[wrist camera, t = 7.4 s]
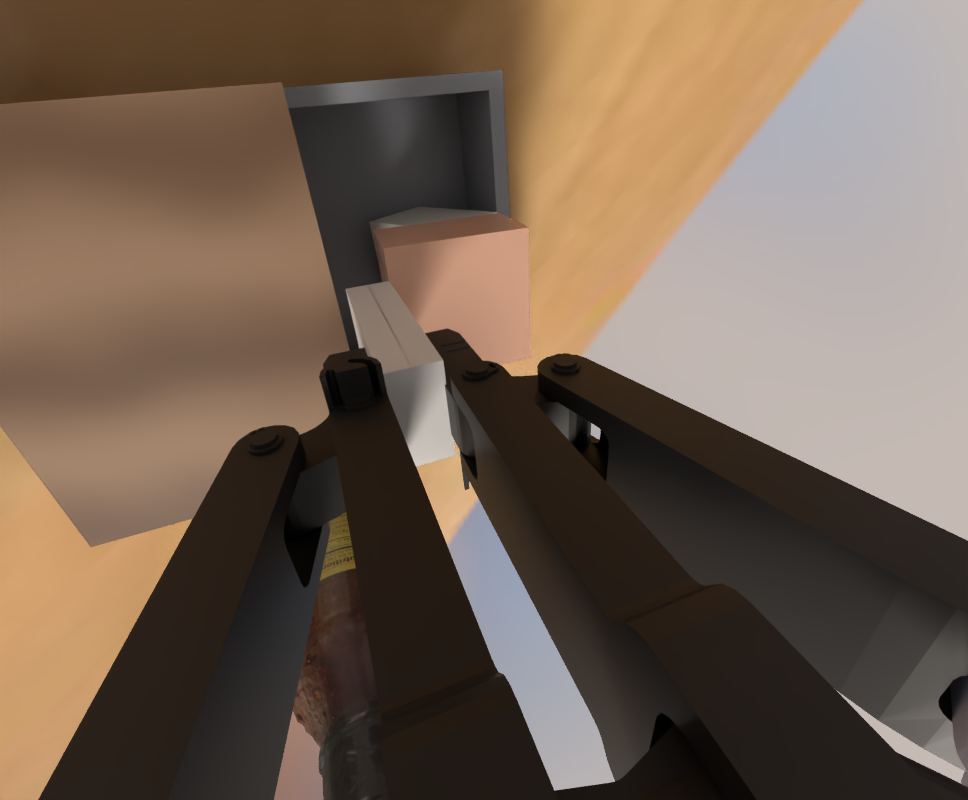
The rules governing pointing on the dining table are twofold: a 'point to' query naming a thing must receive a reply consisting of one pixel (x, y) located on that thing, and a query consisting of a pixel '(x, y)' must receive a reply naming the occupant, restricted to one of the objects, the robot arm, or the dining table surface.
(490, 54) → the dining table surface
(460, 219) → the salmon pink square block
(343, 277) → the bin
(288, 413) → the plate
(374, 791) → the sauce bottle
